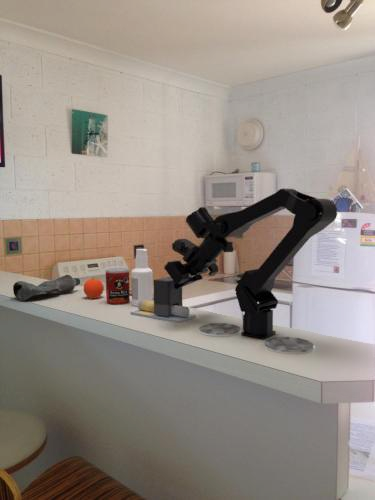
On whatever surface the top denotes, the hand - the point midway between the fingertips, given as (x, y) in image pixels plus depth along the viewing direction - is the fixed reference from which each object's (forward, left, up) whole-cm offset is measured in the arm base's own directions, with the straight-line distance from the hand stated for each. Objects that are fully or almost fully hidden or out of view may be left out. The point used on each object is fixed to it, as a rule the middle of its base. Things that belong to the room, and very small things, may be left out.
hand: (175, 287), depth 131 cm
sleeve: (+3, 0, -9) cm, 9 cm away
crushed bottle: (+58, 0, -9) cm, 58 cm away
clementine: (+41, -7, -9) cm, 42 cm away
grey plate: (+5, 0, -9) cm, 10 cm away
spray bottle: (+20, -8, -9) cm, 23 cm away
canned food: (+29, -6, -9) cm, 31 cm away
